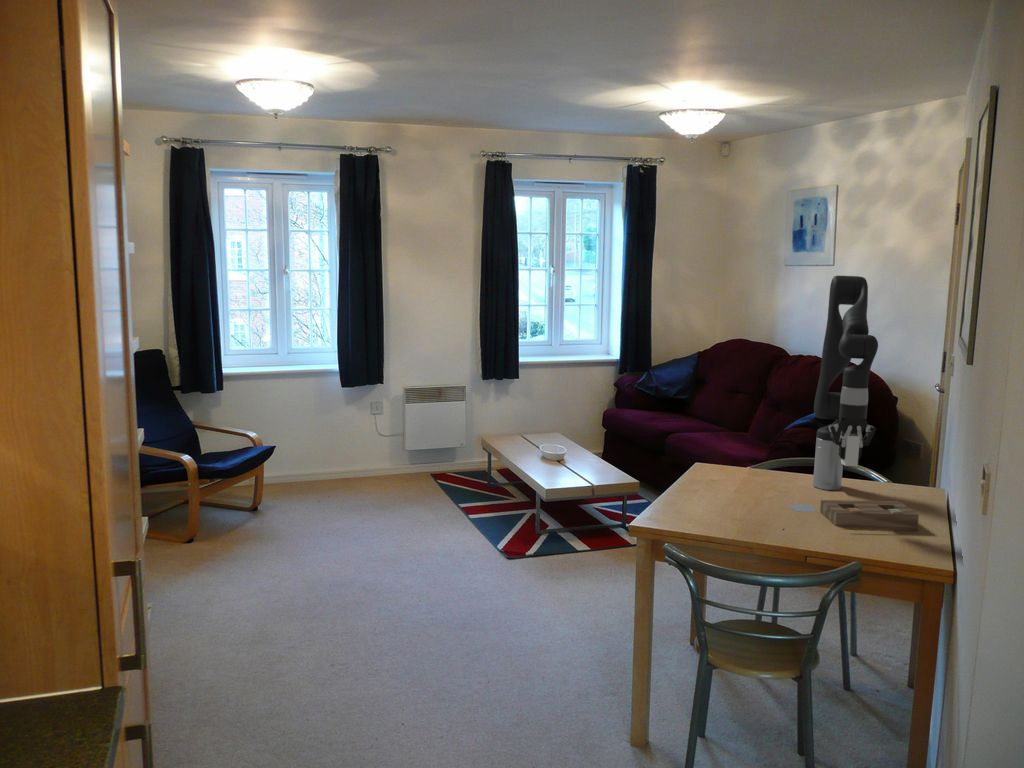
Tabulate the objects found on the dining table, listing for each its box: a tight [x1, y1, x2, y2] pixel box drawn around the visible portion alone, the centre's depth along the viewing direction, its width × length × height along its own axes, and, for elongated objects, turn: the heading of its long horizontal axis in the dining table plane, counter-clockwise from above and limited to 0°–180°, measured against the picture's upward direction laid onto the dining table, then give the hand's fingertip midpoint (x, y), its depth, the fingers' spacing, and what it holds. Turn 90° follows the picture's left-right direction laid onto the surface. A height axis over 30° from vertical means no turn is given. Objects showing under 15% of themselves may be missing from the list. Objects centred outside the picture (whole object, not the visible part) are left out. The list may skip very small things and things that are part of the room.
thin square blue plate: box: [788, 504, 819, 513], centre depth 266 cm, size 7×7×1 cm
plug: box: [841, 434, 860, 467], centre depth 252 cm, size 4×4×10 cm
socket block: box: [819, 499, 920, 532], centre depth 255 cm, size 13×24×5 cm, turn 89°
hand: (849, 458), depth 253 cm, fingers closed on plug, 3 cm apart
